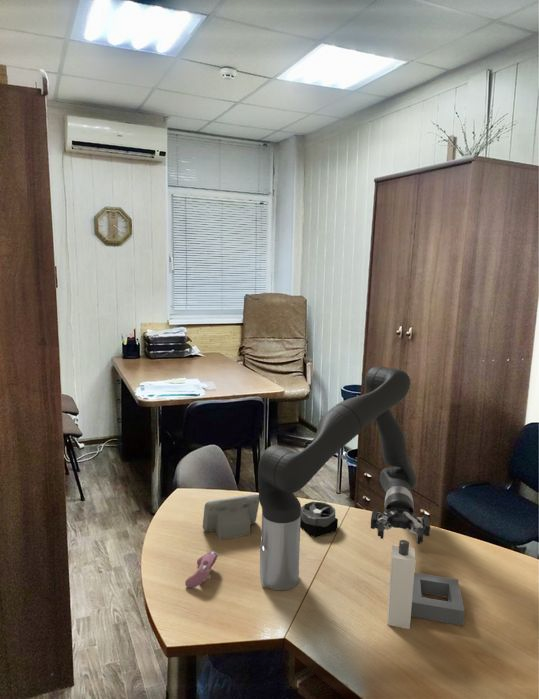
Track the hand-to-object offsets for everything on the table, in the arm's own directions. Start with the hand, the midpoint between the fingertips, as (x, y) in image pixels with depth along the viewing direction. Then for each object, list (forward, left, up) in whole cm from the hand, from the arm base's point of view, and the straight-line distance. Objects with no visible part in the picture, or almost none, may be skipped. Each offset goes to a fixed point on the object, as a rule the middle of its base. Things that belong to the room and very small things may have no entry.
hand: (400, 538), depth 118 cm
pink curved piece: (-47, +6, -12) cm, 49 cm away
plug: (-4, -12, -12) cm, 17 cm away
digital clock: (-39, +27, -12) cm, 49 cm away
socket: (+6, -8, -12) cm, 15 cm away
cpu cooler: (-14, +27, -12) cm, 33 cm away
